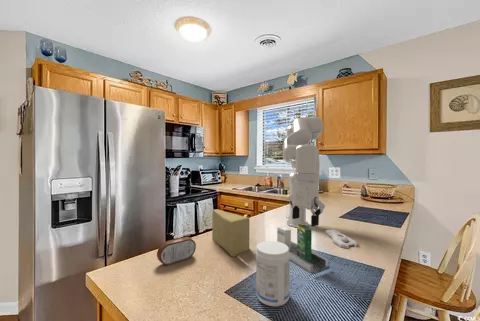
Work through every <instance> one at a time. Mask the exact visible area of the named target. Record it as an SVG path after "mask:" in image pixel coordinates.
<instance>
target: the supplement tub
mask: <svg viewBox="0 0 480 321" xmlns="http://www.w3.org/2000/svg"><path fill="white" fill-rule="evenodd" d="M255 265H256V266H255V268H256V269H255V274H256V276H255V278H256V282H255V284H256V286H255V287H256V291H255V292H256V298H257V299H258V301H260V303H262V304H264V305H266V306H269V307H281V306H283V305H285V304H286V303H288V301H289V299H290V261H289V248H288V246H287V245H285V244H284V243H281V242H277V240H267V241H262V242H259V243H258V244H257V245H256V250H255Z"/></svg>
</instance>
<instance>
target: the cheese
mask: <svg viewBox="0 0 480 321" xmlns="http://www.w3.org/2000/svg"><path fill="white" fill-rule="evenodd" d="M211 222H212V231H211V234H212V235H211V236H212V237H211V239H212V241H214V242H215V243H217V244H218V245H219V246H220V247H222V248H223V249H224V250H225V251H226V252H227V253H228V254H229V255H230V256H231V257H232V258H234V257H237V256H238V254H240V253H243V252H247V251H248V250H250V225H251V224H250V218H249V217H247V216H243V215H241V214H236V213H231V212H227V211H223V210H222V209H213V210H212V220H211Z"/></svg>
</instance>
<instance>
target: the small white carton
mask: <svg viewBox="0 0 480 321" xmlns="http://www.w3.org/2000/svg"><path fill="white" fill-rule="evenodd" d="M276 228H277V231H276V235H277V237H276V239H277V240H276V241H277V242H281V243H284V244H285V245H287V246H288V248H289V251H291V241H292V240H291V239H292V229H290V228H288V227H286V226H283V225H281V226H277V227H276Z"/></svg>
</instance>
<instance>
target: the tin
mask: <svg viewBox="0 0 480 321" xmlns="http://www.w3.org/2000/svg"><path fill="white" fill-rule="evenodd" d="M196 249H197V244H196V242H195V240H194V239H193V238H192V237H190V236H184V237H180V238H179V237H178V238H175V239H170V240H167V241H165V242H163V243H162V244H161V245H160V246H159V247H158V248H157V252H156V257H157V260H158V261H159V262H160V263H161V264H163V265H166V266H169V265H172V264H175V263H179V262H182V261H184V260H188V259H190V258H192V256H193V255H194V254H195V252H196Z"/></svg>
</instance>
